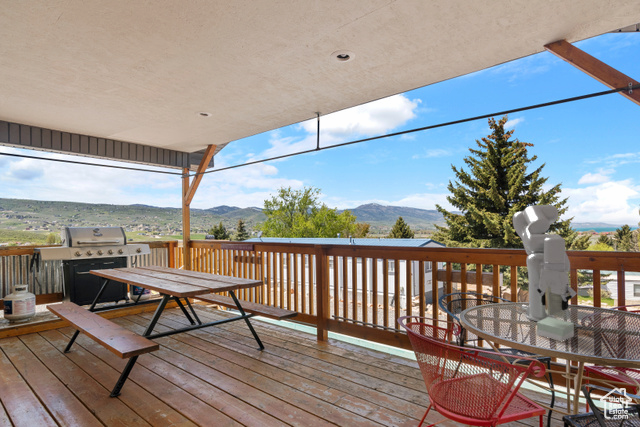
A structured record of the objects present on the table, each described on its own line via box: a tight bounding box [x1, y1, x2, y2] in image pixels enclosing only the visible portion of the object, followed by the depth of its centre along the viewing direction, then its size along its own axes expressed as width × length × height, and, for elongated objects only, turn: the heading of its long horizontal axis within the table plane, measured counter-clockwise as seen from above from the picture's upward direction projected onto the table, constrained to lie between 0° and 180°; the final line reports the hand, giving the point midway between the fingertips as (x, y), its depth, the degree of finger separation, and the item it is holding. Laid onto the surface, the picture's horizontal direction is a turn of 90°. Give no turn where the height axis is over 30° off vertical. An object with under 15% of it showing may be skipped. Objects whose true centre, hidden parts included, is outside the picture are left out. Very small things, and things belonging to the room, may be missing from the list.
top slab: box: [536, 317, 575, 336], centre depth 153 cm, size 10×10×3 cm
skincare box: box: [545, 287, 566, 317], centre depth 152 cm, size 6×4×12 cm
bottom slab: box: [535, 328, 575, 342], centre depth 153 cm, size 10×10×3 cm
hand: (554, 306), depth 152 cm, fingers closed on skincare box, 7 cm apart
